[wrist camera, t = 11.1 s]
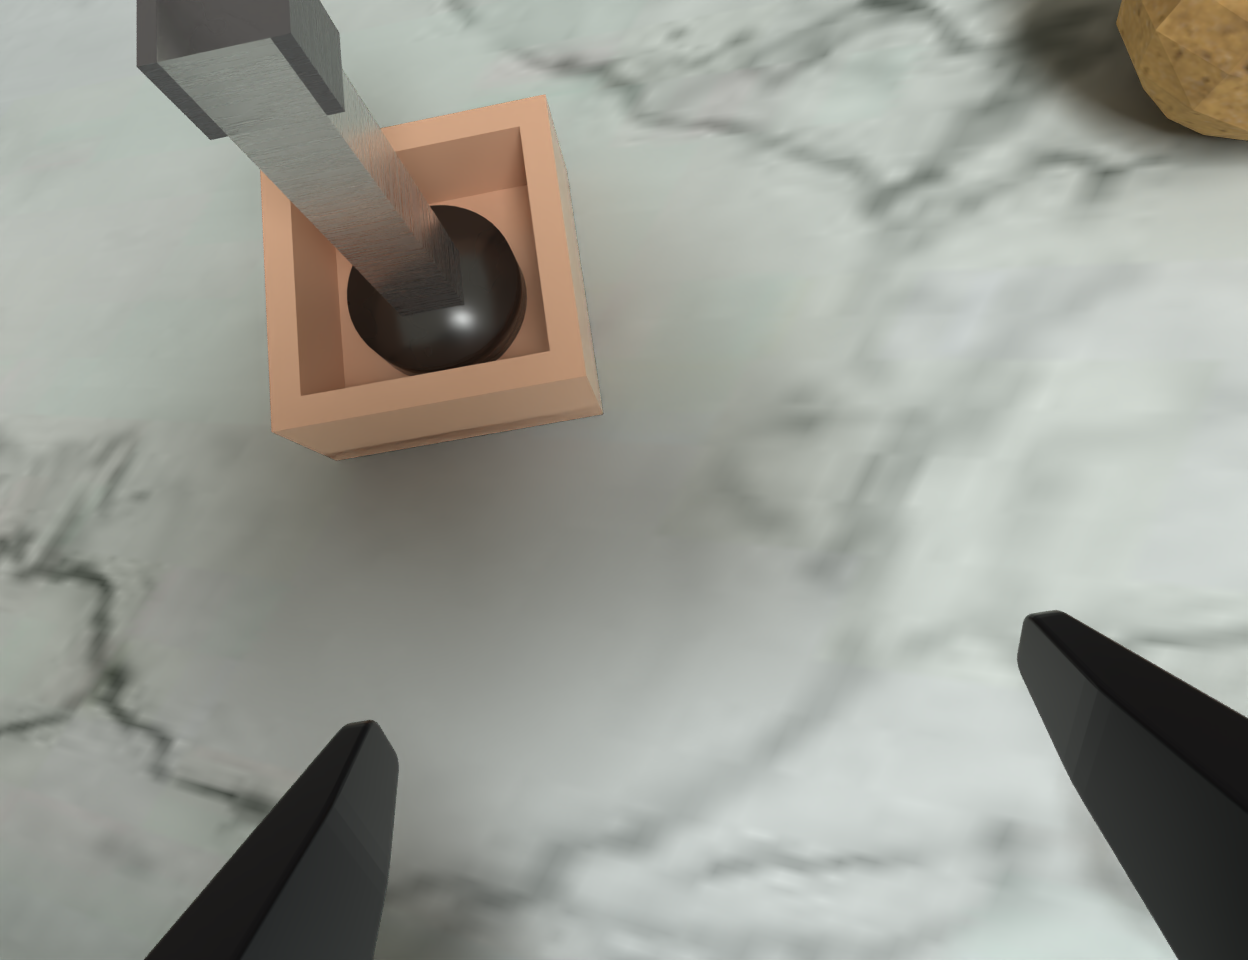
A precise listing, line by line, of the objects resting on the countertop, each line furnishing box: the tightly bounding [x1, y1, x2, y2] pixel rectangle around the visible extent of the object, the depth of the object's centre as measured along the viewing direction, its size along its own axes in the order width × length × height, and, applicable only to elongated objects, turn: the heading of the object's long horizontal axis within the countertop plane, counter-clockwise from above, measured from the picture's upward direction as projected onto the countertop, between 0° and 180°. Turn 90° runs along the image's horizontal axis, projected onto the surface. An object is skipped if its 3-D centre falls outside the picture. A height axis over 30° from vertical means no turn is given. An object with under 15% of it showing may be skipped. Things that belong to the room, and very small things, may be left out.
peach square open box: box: [260, 95, 603, 461], centre depth 24 cm, size 10×10×4 cm
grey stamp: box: [137, 0, 527, 376], centre depth 19 cm, size 6×6×12 cm
